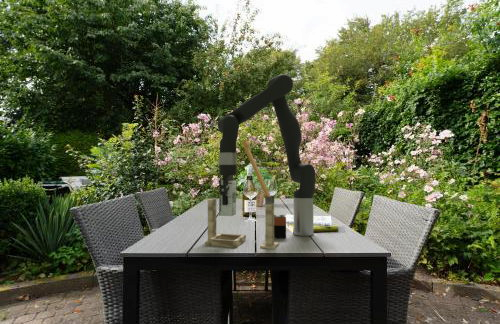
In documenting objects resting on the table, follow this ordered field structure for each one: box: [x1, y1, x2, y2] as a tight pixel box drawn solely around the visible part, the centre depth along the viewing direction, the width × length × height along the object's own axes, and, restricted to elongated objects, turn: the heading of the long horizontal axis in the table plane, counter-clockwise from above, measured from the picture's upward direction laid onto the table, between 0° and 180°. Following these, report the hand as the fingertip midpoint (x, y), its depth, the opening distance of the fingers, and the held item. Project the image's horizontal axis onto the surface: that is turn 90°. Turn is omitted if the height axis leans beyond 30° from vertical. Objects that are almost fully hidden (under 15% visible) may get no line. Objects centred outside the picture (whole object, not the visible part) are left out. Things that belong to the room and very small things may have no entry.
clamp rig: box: [204, 194, 280, 250], centre depth 129 cm, size 12×30×20 cm, turn 73°
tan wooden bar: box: [241, 139, 271, 197], centre depth 128 cm, size 4×26×2 cm
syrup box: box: [218, 180, 237, 217], centre depth 131 cm, size 6×6×14 cm
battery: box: [274, 214, 287, 239], centre depth 142 cm, size 4×7×10 cm, turn 82°
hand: (227, 204), depth 131 cm, fingers closed on syrup box, 6 cm apart
